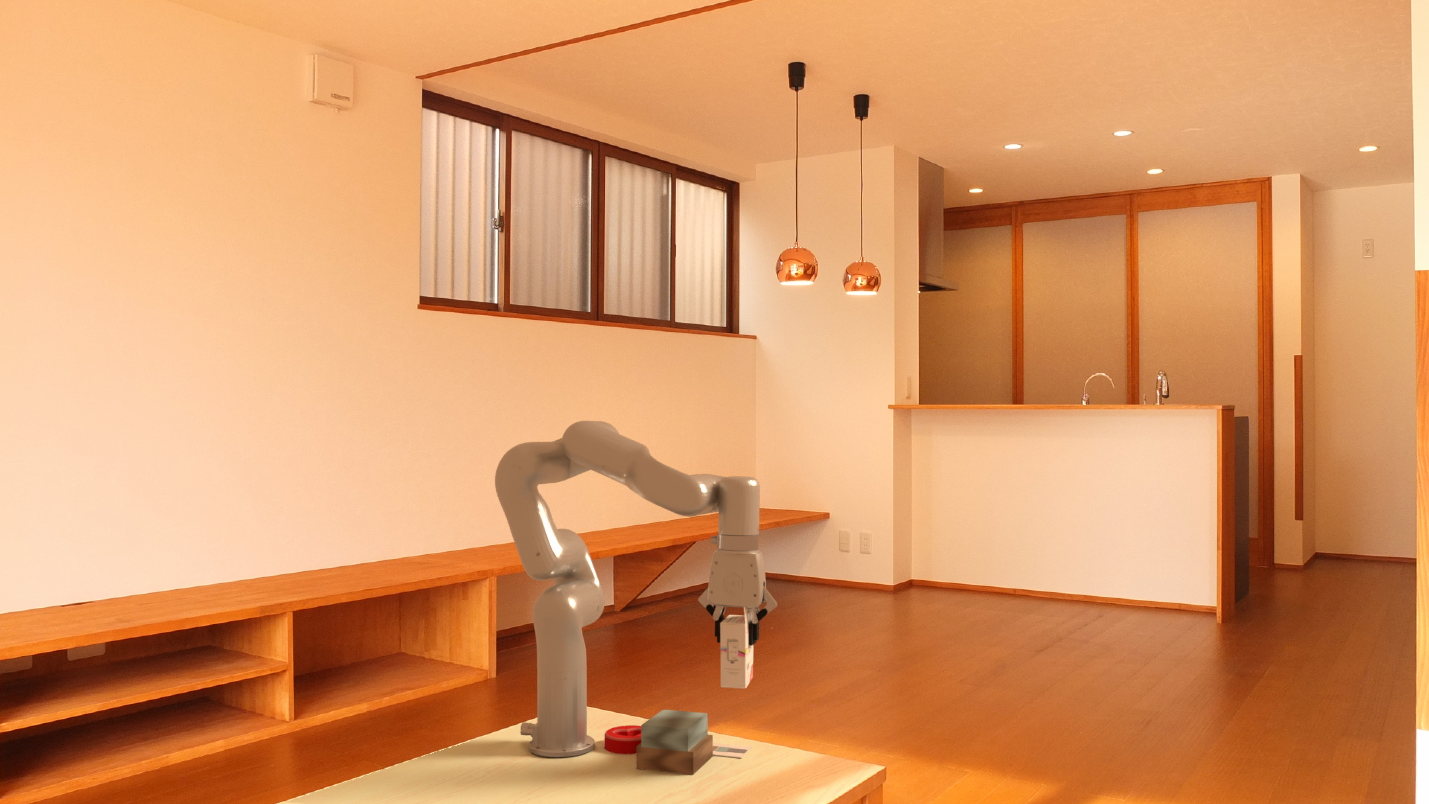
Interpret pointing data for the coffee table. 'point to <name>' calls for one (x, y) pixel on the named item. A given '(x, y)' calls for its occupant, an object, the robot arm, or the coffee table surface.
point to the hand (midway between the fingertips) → (736, 641)
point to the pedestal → (675, 742)
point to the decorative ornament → (623, 739)
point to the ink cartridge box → (736, 651)
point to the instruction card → (730, 750)
